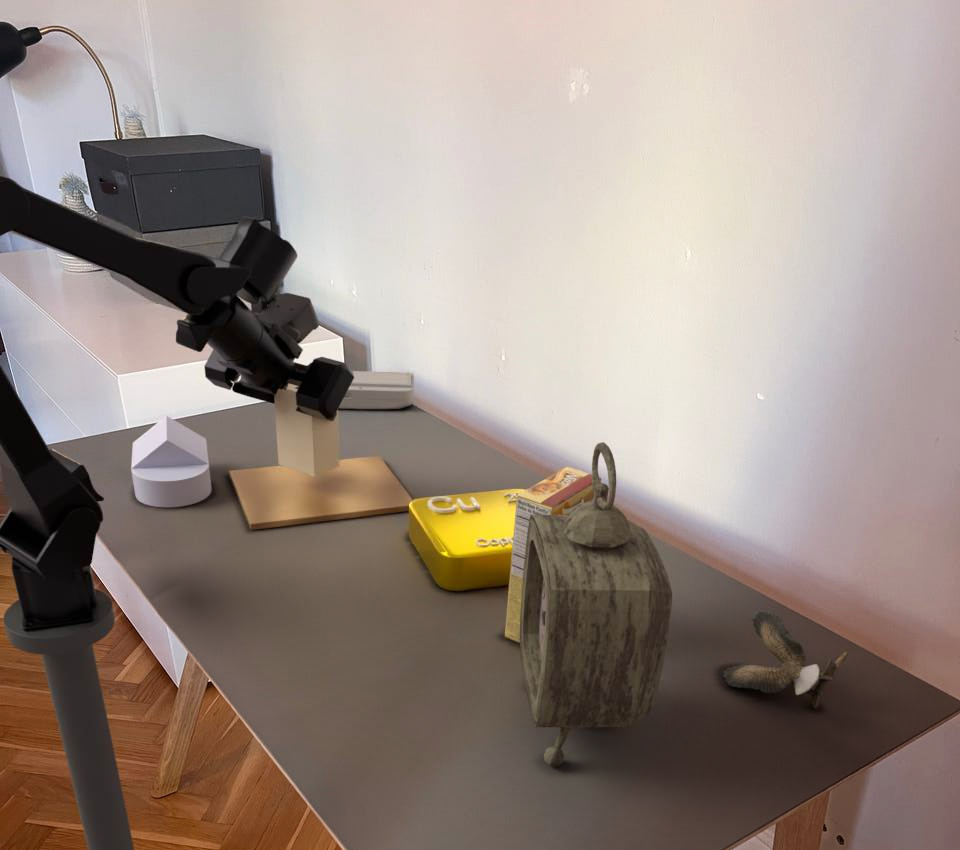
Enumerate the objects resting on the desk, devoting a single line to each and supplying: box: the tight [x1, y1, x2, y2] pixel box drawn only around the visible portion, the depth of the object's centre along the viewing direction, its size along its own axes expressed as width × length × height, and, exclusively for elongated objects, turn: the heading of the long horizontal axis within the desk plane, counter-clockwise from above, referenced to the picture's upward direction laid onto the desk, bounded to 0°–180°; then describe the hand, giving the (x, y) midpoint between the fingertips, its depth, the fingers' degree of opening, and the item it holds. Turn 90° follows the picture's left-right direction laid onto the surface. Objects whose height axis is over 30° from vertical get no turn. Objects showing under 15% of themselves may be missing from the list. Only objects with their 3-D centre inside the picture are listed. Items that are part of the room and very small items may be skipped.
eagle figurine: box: [722, 609, 849, 710], centre depth 85 cm, size 8×7×9 cm
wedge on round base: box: [130, 415, 212, 508], centre depth 116 cm, size 9×7×13 cm
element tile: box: [408, 488, 526, 592], centre depth 105 cm, size 15×15×5 cm
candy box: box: [504, 466, 602, 644], centre depth 90 cm, size 9×4×15 cm, turn 145°
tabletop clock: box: [519, 441, 673, 767], centre depth 74 cm, size 14×9×25 cm, turn 4°
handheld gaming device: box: [338, 370, 415, 410], centre depth 147 cm, size 9×15×4 cm, turn 94°
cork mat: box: [228, 455, 414, 531], centre depth 118 cm, size 20×16×1 cm
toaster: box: [274, 383, 340, 477], centre depth 114 cm, size 6×6×10 cm
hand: (314, 411), depth 114 cm, fingers closed on toaster, 6 cm apart
